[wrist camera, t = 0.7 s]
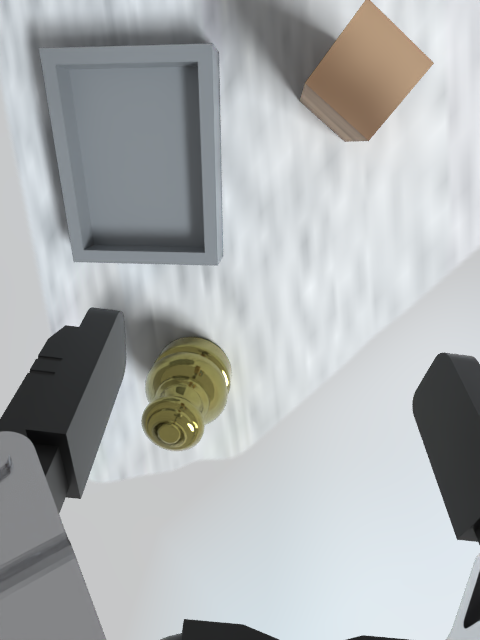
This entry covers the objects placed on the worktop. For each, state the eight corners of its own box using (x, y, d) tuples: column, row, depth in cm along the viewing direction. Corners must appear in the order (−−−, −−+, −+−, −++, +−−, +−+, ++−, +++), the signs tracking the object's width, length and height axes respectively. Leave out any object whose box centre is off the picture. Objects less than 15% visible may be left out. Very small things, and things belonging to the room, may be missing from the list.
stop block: (342, 43, 29) (367, -3, 20) (389, 87, 30) (433, 63, 21) (299, 101, 31) (304, 83, 22) (344, 141, 32) (368, 140, 22)
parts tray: (60, 56, 31) (38, 48, 29) (218, 52, 30) (212, 43, 27) (89, 253, 37) (73, 262, 34) (222, 256, 36) (217, 265, 33)
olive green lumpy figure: (197, 413, 43) (173, 487, 34) (143, 366, 41) (102, 430, 32) (248, 372, 40) (237, 439, 31) (192, 320, 39) (163, 374, 30)
